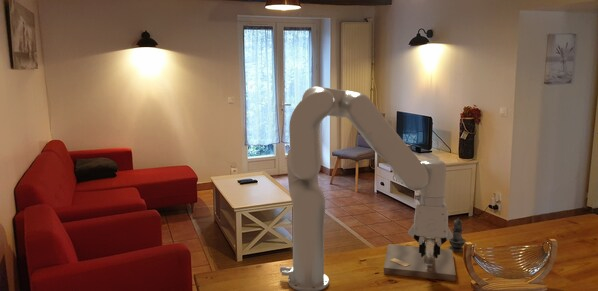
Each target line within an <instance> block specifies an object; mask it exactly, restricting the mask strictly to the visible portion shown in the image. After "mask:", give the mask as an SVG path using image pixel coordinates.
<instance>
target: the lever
mask: <svg viewBox="0 0 598 291" xmlns="http://www.w3.org/2000/svg"><path fill="white" fill-rule="evenodd" d="M423 242H424V254H423V262H424V263H426V265H431V266H432V264H434V263H435V248H436V242H437V238H432V237H424V238H423Z"/></svg>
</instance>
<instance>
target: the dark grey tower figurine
mask: <svg viewBox="0 0 598 291" xmlns="http://www.w3.org/2000/svg"><path fill="white" fill-rule="evenodd" d="M463 231H464V230H463V221H462V220H460V217H457V219H455V220H454V221H453V228H452V235H453V238H452V239H450V240H448V241H449V245H451V246H449V247H448V249H449V250H452V252H453V253H463V252H464V251H463V248H464V247H463V246H465V243H466V239H465V238H464V237H463V234H462V233H463Z"/></svg>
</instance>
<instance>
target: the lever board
mask: <svg viewBox="0 0 598 291" xmlns="http://www.w3.org/2000/svg"><path fill="white" fill-rule="evenodd" d="M386 249H387V250H386V252H385V260H384V263H383V264H384V265H383V274H386V275H395V276H404V277H405V276H406V277H413V278H414V277H415V278H422V279H423V278H424V279H434V280H443V281H452V282H456V278H457V277H456V276H457V274H456V267H455V260H454V256H453V253H454V252H453V251H452V250H450V249H449V248H448V249H447V248H440V255H438V258H435V263H434V264H432V266H431V265H426V263H424V262H423V257H421V253H419V246H416V245H415V246H412V245H403V244H402V245H400V244H391V243H389V244H387V248H386Z"/></svg>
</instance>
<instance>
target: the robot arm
mask: <svg viewBox="0 0 598 291" xmlns="http://www.w3.org/2000/svg"><path fill="white" fill-rule="evenodd" d="M328 116H330V117H336V118H345V119H348V121H350V123H351V124H352V126H353V127H354V128H355V130H356V131H357V132H358V133H359V134H360V136H361V137H362V138H363V140H364V141H365V142H366V143H367V145H368V146H369V147H370V148H371V149H372V150H373V152H375V153H376V154H377V155H378V156H380V157H381V158H382V159H383V160H384V161H385V162H386V163H387V164H388V165H389V166H390V168H392V173H393V176H394V178H395V179H396V180H397V181H398V182H400V183H401V184H402V185H404V186H405V187H406V188H407V189H408V190H412V191H419V193H418V194H417V195H414V200H416V201H417V203H416V205H415V210H414V217H413V218H414V219H413V224H412V225H411V226H410V228H409V229H408V231H407V234H408V235H409V236H410V237H412V238H413V239H414V240H415V241H416V243H418V247H419V253H421V257H423V254H424V242H423V240H424V237H432V238H436V248H435V258H438V255H440V249H441V247H442V245H443V244H445V243H446V242H447V241H449V240H450V239H452V238H453V232H452V231H451V230H450V228H449V211H448V206H447V204H446V203H445V201H446V200H445V199H446V177H447V165H446V163H445V161H442V160H439V159H426V160H420V159H419V158H418V156H417V155H416V153H414V152H413V151H412V149H411V148H410V146H408V145H407V143H406V142H404V140H403V139H402V138H401V136H400V135H399V134H398V133H397V131H395V129H394V128H393V127H392V126H391V124H390V123H389V122H388V121H387V119H386V118H385V116H383V114H382V112H381V111H380V110H379V109H378V107H377V106H376V104H374V103H373V101H372V100H371V99H370V97H368V95H366V94H365V93H362V92H358V91H354V90H344V89H336V88H330V87H325V86H312V87H309V88H308V89H306V90H305V91H304V92H303V95H302V98H301V100H300V101H299V102H298V104H297V105H296V106H295V108H294V110H293V111H292V113H291V115H290V120H289V130H288V133H289V150H288V152H287V155H286V169H287V180H288V181H287V182H288V191H289V192H288V193H289V196H290V199H291V203H292V230H291V231H292V266H283V265H281V266H280V268H279V272H280V273H281V276H284V277H285V276H286V277H288V279H287V282H288V283H287V284H288V286H289V287H290V288H292V289H293V290H295V291H322V290H324V289H326V288H327V287H328V286H329V284H330V279H329V276H328V275H326V274H325V216H326V215H325V214H326V199H325V194H324V192H323V190H322V189H321V187H320V186H319V176H318V175H319V173H320V170H321V168H322V166H321V165H322V162H321V160H322V159H321V154H320V143H319V142H320V141H319V140H320V139H319V136H320V134H319V133H320V131H319V130H320V125H321V123H322V122H323V120H324V119H325V118H326V117H328Z"/></svg>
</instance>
